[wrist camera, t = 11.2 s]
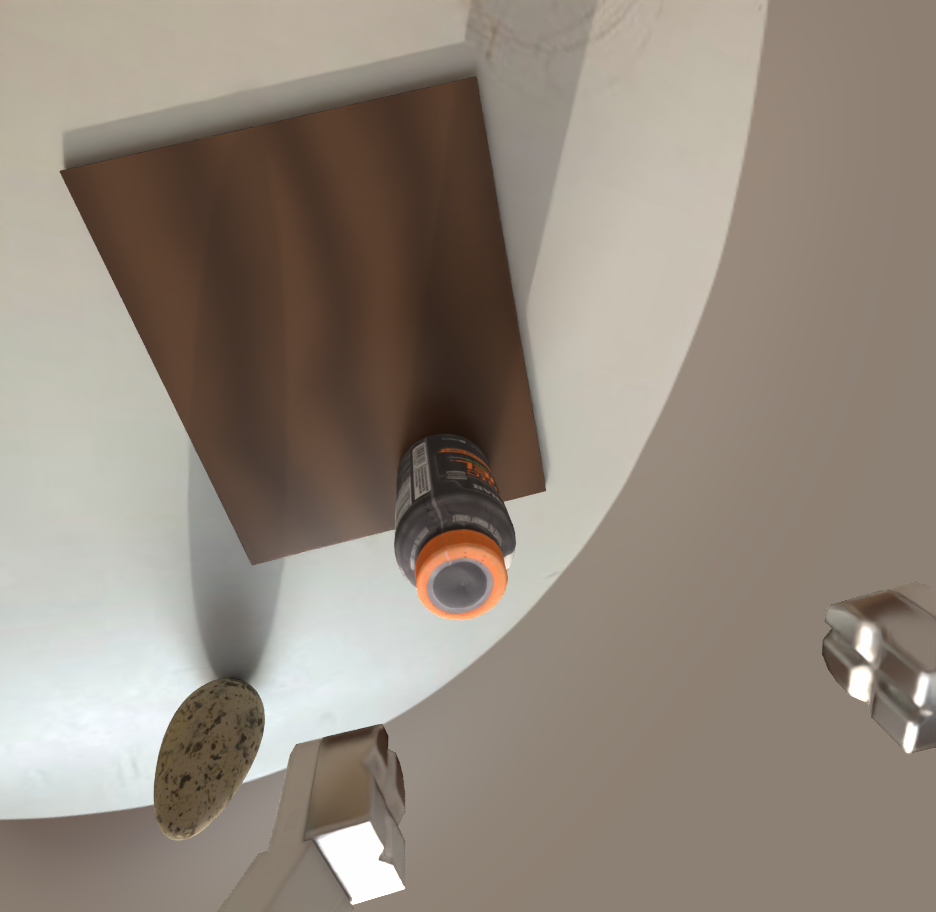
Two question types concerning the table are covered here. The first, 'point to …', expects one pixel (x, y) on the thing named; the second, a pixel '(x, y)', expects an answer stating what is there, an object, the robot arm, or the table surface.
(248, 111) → the table surface
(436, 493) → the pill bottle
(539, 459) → the walnut mat
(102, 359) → the table surface
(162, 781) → the decorative egg
